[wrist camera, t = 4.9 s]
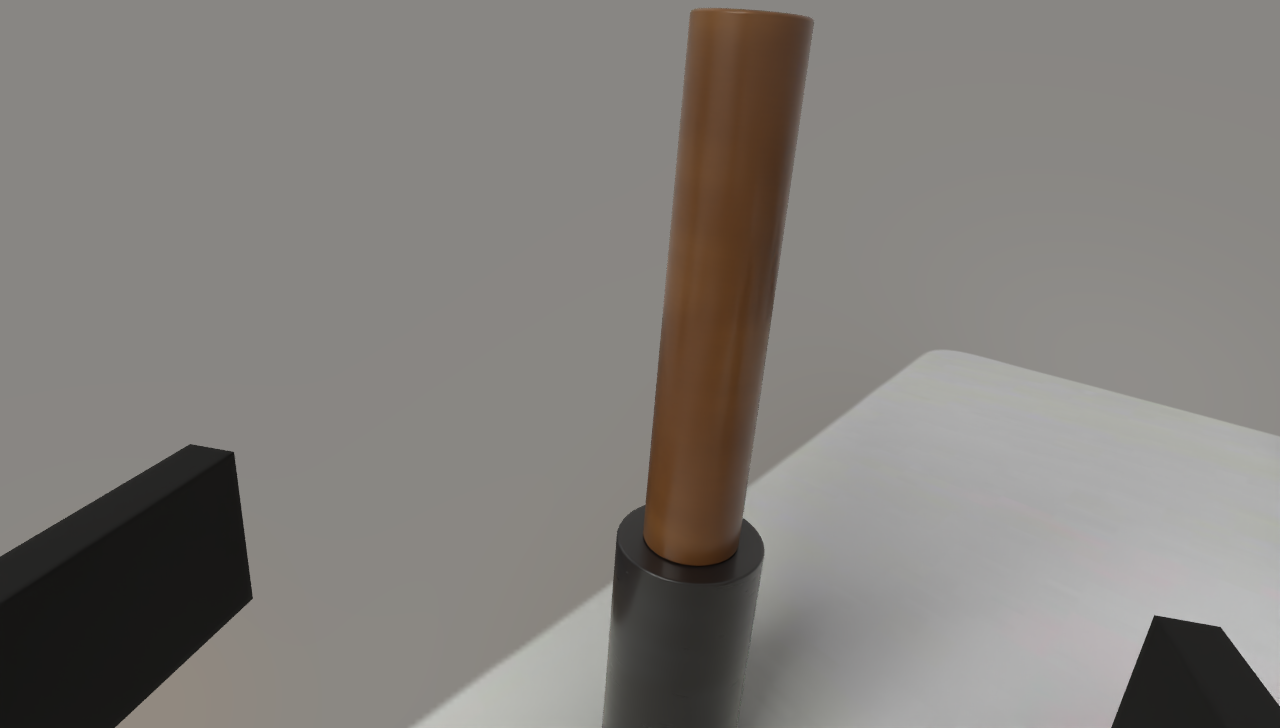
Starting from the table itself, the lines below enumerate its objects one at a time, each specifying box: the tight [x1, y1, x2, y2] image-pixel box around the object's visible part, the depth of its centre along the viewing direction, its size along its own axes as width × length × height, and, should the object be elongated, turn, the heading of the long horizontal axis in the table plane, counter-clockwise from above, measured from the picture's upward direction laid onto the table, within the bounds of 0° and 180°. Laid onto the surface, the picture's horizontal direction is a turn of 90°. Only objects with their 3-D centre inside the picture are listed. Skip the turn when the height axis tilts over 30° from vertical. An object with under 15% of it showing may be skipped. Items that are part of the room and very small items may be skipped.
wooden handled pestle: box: [602, 8, 814, 728], centre depth 20 cm, size 4×4×20 cm
